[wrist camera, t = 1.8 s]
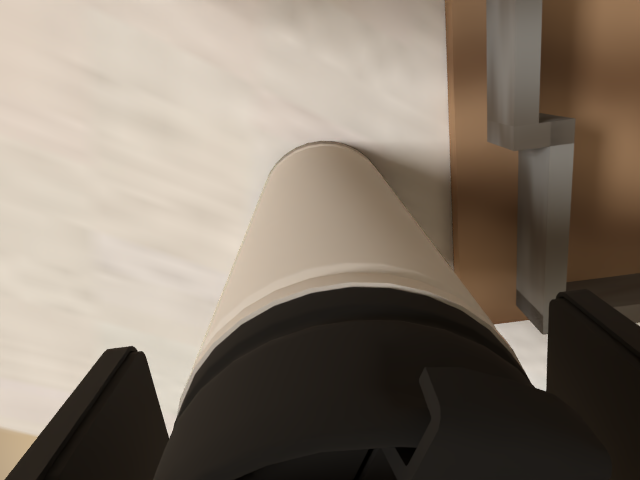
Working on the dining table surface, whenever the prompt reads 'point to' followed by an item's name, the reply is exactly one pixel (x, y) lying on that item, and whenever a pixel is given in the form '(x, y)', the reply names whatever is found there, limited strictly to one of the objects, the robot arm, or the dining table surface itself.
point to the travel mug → (360, 353)
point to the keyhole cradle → (545, 152)
